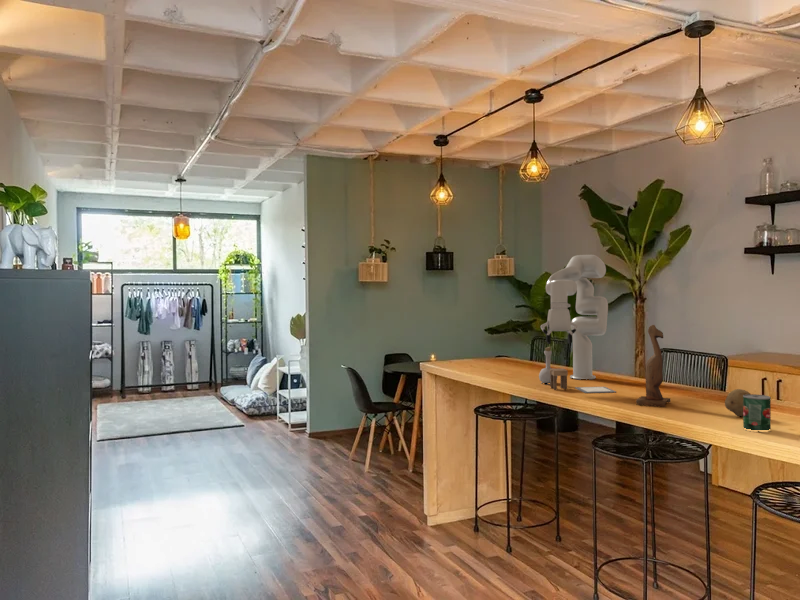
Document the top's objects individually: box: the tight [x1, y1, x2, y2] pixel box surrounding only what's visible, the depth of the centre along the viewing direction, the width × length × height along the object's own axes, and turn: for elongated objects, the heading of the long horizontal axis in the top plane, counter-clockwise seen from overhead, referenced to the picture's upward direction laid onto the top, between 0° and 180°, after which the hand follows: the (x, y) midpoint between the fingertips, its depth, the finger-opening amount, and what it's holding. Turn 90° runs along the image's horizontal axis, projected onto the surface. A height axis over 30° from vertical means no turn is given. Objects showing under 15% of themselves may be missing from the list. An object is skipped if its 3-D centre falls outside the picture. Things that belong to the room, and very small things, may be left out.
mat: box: [574, 386, 617, 394], centre depth 288 cm, size 14×14×1 cm
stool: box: [549, 368, 569, 391], centre depth 294 cm, size 6×6×9 cm
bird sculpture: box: [635, 324, 672, 408], centre depth 254 cm, size 11×12×32 cm
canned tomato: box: [742, 393, 772, 430], centre depth 208 cm, size 8×8×11 cm
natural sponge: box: [724, 388, 751, 417], centre depth 228 cm, size 9×9×10 cm
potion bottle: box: [538, 346, 553, 385], centre depth 310 cm, size 9×9×18 cm
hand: (559, 343), depth 293 cm, fingers open, 9 cm apart
